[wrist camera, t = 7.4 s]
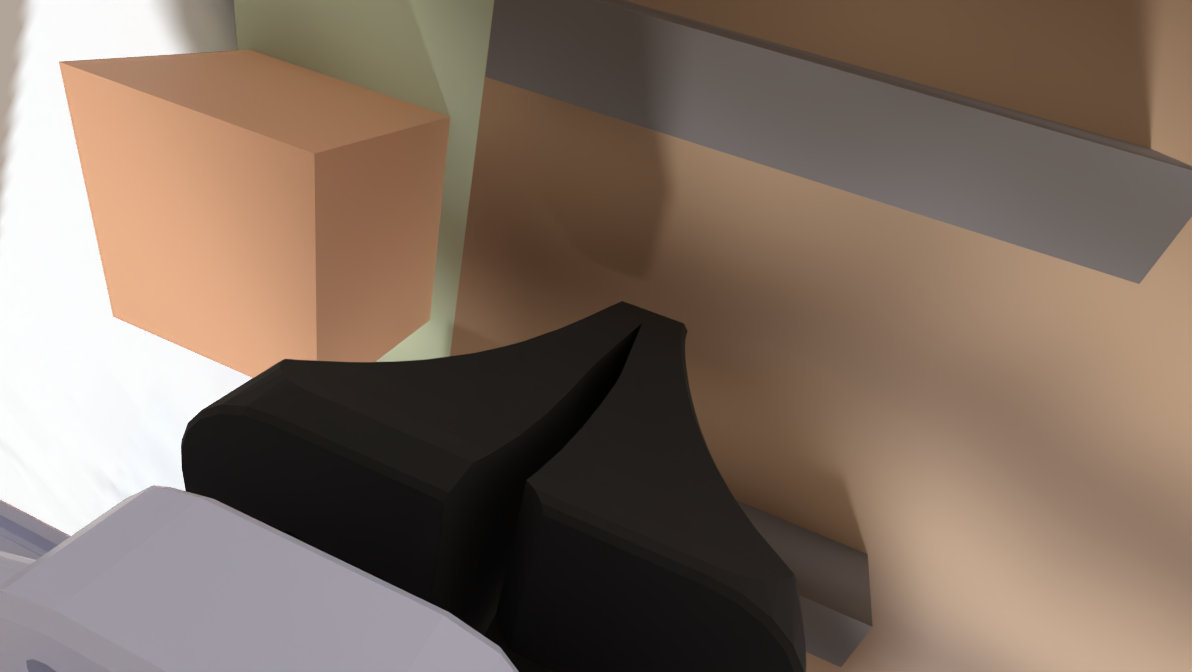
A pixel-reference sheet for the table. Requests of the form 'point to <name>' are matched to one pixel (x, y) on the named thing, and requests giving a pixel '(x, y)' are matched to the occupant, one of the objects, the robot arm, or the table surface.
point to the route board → (850, 280)
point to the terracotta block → (259, 205)
